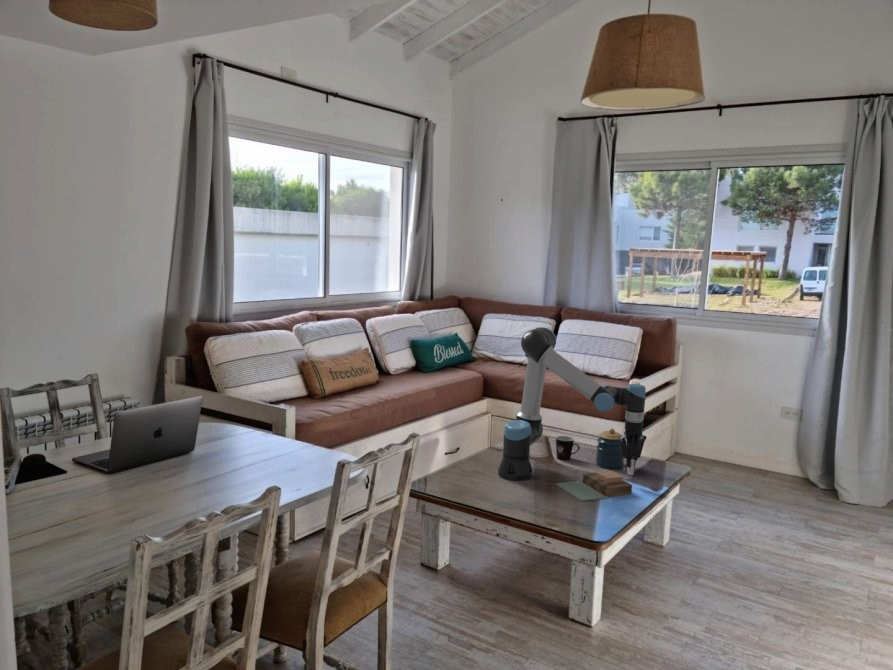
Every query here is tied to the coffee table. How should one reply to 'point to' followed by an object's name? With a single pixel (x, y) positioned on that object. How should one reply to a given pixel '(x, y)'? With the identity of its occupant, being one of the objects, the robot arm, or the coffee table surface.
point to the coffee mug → (564, 447)
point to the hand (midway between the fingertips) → (630, 474)
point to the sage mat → (581, 491)
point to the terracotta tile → (609, 476)
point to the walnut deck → (607, 486)
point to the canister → (609, 450)
